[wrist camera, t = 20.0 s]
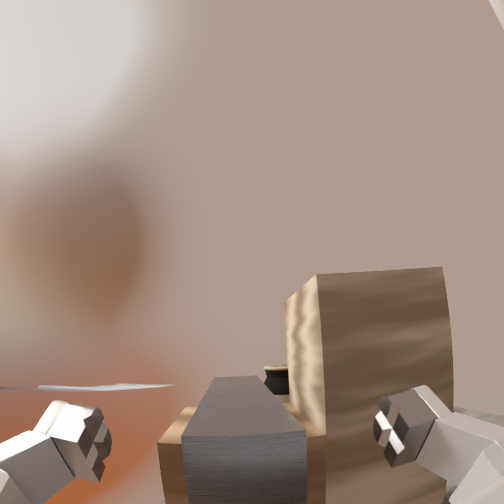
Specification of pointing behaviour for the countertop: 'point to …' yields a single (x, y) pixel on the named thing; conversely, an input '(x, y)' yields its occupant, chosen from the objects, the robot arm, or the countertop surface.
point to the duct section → (244, 447)
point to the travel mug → (278, 381)
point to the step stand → (353, 382)
